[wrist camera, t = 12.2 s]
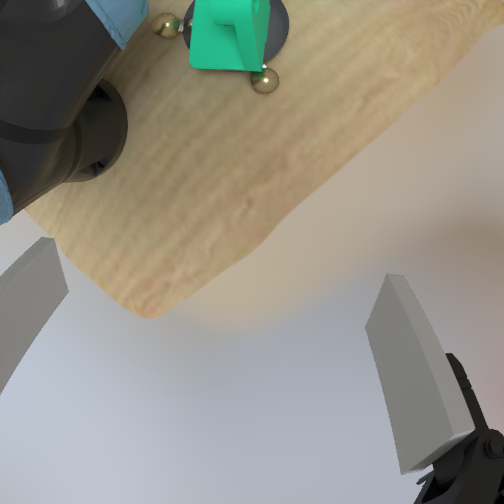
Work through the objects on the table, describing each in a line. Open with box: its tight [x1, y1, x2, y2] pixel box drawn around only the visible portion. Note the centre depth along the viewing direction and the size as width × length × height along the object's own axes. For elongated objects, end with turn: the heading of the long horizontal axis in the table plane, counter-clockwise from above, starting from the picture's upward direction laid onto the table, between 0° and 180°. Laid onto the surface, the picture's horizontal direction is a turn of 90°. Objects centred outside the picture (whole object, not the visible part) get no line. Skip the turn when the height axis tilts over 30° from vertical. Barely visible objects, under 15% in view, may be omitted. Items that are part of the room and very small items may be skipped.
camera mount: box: [189, 0, 270, 72], centre depth 21 cm, size 12×8×10 cm, turn 175°
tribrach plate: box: [152, 0, 289, 93], centre depth 27 cm, size 16×17×3 cm
